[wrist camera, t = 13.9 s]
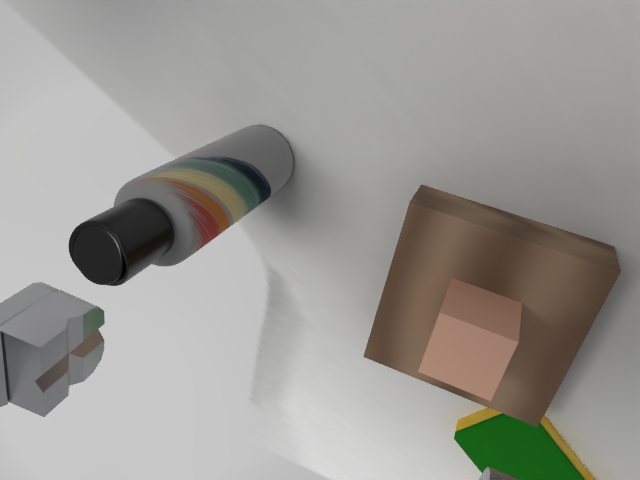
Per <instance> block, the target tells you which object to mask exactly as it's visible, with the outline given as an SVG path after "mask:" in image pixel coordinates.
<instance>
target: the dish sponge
mask: <svg viewBox="0 0 640 480" xmlns="http://www.w3.org/2000/svg"><path fill="white" fill-rule="evenodd" d="M454 439H455V440H456V442H457V443H458V444H459V445H460V447H461V448H462V449H463V450H464V451H465V453H466V454H467V455H468V456H469V458H470V459H471V460H472V461H473V463H474V464H475V465H476V466H477V467H478V469H479V470H480V471H481V472H482V473H483V472H484V470H485V469H486V468H487V467H490V468H493V469H495V470H498V471H500V472H503V473H505V474H508V475H510V476H513V477H515V478H518V479H520V480H595V479H594V478H593V477H592V475H591V474H590V473H589V472H588V470H587V469H586V468H585V466H584V465H583V464H582V463H581V461H580V460H579V459H578V458H577V456H576V455H575V454H574V453H573V451H572V450H571V449H570V447H569V446H568V445H567V444H566V442H565V441H564V440H563V439H562V437H561V436H560V435H559V434H558V432H557V431H556V430H555V429H554V427H553V426H552V425H551V423H550V422H549V421H548V420H547V418H546V417H545V416H543V418H542V419H541V421H540V423H539V425H538V427H535V426H533V425H531V424H528V423H526V422H523V421H521V420H518V419H516V418H513V417H511V416H508V415H506V414H503V413H501V412H499V411H496V410H494V409H491V408H486V409H484V410H482V411H479V412H477V413H474V414H472V415H469V416H467V417H464V418H462V419H459V420H458V423H457V427H456V432H455V437H454Z"/></svg>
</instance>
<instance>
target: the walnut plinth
mask: <svg viewBox="0 0 640 480" xmlns="http://www.w3.org/2000/svg"><path fill="white" fill-rule="evenodd" d="M619 274H620V268H619V264H618V260H617V255H616V251H615V247H614V246H610V245H607V244H604V243H601V242H598V241H595V240H592V239H589V238H586V237H582V236H579V235H576V234H573V233H570V232H567V231H564V230H561V229H558V228H554V227H551V226H548V225H545V224H542V223H539V222H536V221H533V220H530V219H526V218H523V217H520V216H517V215H514V214H511V213H508V212H505V211H502V210H498V209H495V208H492V207H489V206H486V205H483V204H480V203H477V202H474V201H470V200H467V199H464V198H461V197H458V196H455V195H452V194H449V193H446V192H442V191H439V190H436V189H433V188H430V187H427V186H424V185H421V186H420V188H419V189H418V191H417V192H416V194H415V195H414V197H413V198H412V200H411V201H410V204H409V207H408V210H407V214H406V217H405V220H404V223H403V227H402V230H401V233H400V237H399V240H398V243H397V247H396V250H395V253H394V257H393V260H392V263H391V267H390V270H389V273H388V277H387V280H386V283H385V287H384V290H383V293H382V297H381V300H380V303H379V307H378V310H377V313H376V317H375V320H374V323H373V327H372V330H371V333H370V337H369V340H368V343H367V347H366V350H365V353H364V357H366V358H368V359H370V360H373V361H375V362H378V363H380V364H383V365H385V366H388V367H390V368H393V369H395V370H398V371H400V372H402V373H405V374H407V375H410V376H412V377H415V378H417V379H420V380H422V381H425V382H427V383H430V384H432V385H434V386H437V387H439V388H442V389H444V390H447V391H449V392H452V393H454V394H457V395H459V396H462V397H464V398H467V399H469V400H471V401H474V402H476V403H479V404H481V405H484V406H486V407H489V408H491V409H494V410H496V411H499V412H501V413H503V414H506V415H508V416H511V417H513V418H516V419H518V420H521V421H523V422H526V423H528V424H531V425H533V426H535V427H538V425H539V423H540V421H541V419H542V418H543V416H544V414H545V412H546V410H547V408H548V406H549V405H550V403H551V401H552V399H553V397H554V395H555V393H556V391H557V390H558V388H559V386H560V384H561V382H562V380H563V378H564V376H565V375H566V373H567V371H568V369H569V367H570V365H571V363H572V362H573V360H574V358H575V356H576V354H577V352H578V350H579V348H580V347H581V345H582V343H583V341H584V339H585V337H586V335H587V333H588V332H589V330H590V328H591V326H592V324H593V322H594V320H595V318H596V317H597V315H598V313H599V311H600V309H601V307H602V305H603V304H604V302H605V300H606V298H607V296H608V294H609V292H610V290H611V289H612V287H613V285H614V283H615V281H616V279H617V277H618V275H619ZM452 278H454V279H457V280H460V281H462V282H465V283H468V284H471V285H473V286H476V287H479V288H482V289H485V290H487V291H490V292H493V293H496V294H498V295H501V296H504V297H507V298H510V299H512V300H515V301H518V302H521V303H522V310H521V321H520V332H519V342H518V345H517V347H516V349H515V351H514V353H513V355H512V357H511V359H510V362H509V364H508V366H507V368H506V370H505V372H504V374H503V376H502V379H501V381H500V383H499V385H498V387H497V389H496V391H495V393H494V396H493V398H492V400H491V401H489V400H486V399H484V398H481V397H479V396H476V395H474V394H472V393H469V392H467V391H464V390H462V389H459V388H457V387H454V386H452V385H449V384H447V383H444V382H442V381H440V380H437V379H435V378H432V377H430V376H427V375H425V374H422V373H420V372H418V370H419V368H420V365H421V362H422V359H423V356H424V353H425V350H426V347H427V345H428V342H429V339H430V336H431V333H432V330H433V328H434V325H435V322H436V320H437V317H438V314H439V311H440V309H441V306H442V303H443V301H444V298H445V295H446V293H447V290H448V287H449V284H450V282H451V279H452Z"/></svg>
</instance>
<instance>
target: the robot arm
mask: <svg viewBox="0 0 640 480" xmlns="http://www.w3.org/2000/svg"><path fill="white" fill-rule="evenodd" d="M103 324H104V311H103V310H102V309H101V308H99V307H98V306H95V305H93V304H91V303H89V302H86V301H84V300H82V299H80V298H77V297H75V296H73V295H70V294H68V293H66V292H64V291H61V290H58V289H56V288H54V287H51V286H49V285H47V284H45V283H43V282H38V283H33V284H31V285H29V286H28V287H26V288H25V289H23V290H21V291H20V292H18V293H17V294H15V295H13V296H12V297H10V298H9V299H7V300H5V301H3V302H2V303H0V407H2V406H4V405H7V404H8V402H10V403H13V404H15V405H17V406H20V407H22V408H25V409H27V410H29V411H31V412H34V413H36V414H38V415H41V416H43V417H45V416H46V415H47V414H48V413H49V412H50V411H51V410H53V409H54V408H55V407H56V406H57V405H58V404H59V403H60V402H61V401H63V400H64V399H65V398H66V397H67V396H68V393H69V386H70V385H73V384H76V383H80V382H83V381H84V380H85V379H87V378H88V377H89V376H90V375H91V374H92V373H93V372H94V370H95V369H96V367H97V365H98V363H99V362H100V360H101V357H102V354H103V351H104V339H103V337H102V335H101V333H100V332H99V330H98V329H99V328H100V327H101V326H102V325H103ZM479 480H520V479H518V478H515V477H513V476H510V475H508V474H505V473H503V472H500V471H498V470H495V469H493V468H490V467H487V468H486V469H485V470H484V472H483V473H482V475H481V477H480V479H479Z"/></svg>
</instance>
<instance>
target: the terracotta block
mask: <svg viewBox="0 0 640 480" xmlns="http://www.w3.org/2000/svg"><path fill="white" fill-rule="evenodd" d="M521 310H522V303H521V302H518V301H515V300H512V299H510V298H507V297H504V296H501V295H498V294H496V293H493V292H490V291H487V290H485V289H482V288H479V287H476V286H473V285H471V284H468V283H465V282H462V281H460V280H457V279H454V278H452V279H451V282H450V284H449V287H448V290H447V293H446V295H445V298H444V301H443V303H442V306H441V309H440V311H439V314H438V317H437V320H436V322H435V325H434V328H433V330H432V333H431V336H430V339H429V342H428V345H427V347H426V350H425V353H424V356H423V359H422V362H421V365H420V368H419V370H418V372H420V373H422V374H425V375H427V376H430V377H432V378H435V379H437V380H440V381H442V382H444V383H447V384H449V385H452V386H454V387H457V388H459V389H462V390H464V391H467V392H469V393H472V394H474V395H476V396H479V397H481V398H484V399H486V400H489V401H491V400H492V398H493V396H494V393H495V391H496V389H497V387H498V385H499V383H500V381H501V379H502V376H503V374H504V372H505V370H506V368H507V366H508V364H509V362H510V359H511V357H512V355H513V353H514V351H515V349H516V347H517V345H518V342H519V332H520V321H521Z"/></svg>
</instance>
